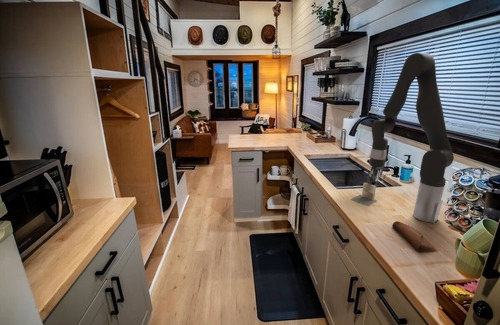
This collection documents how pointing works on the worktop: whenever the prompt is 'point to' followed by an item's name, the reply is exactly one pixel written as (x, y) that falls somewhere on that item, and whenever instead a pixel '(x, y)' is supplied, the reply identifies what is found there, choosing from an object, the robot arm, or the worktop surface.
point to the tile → (368, 191)
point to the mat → (363, 200)
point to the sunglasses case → (414, 237)
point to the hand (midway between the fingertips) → (373, 187)
